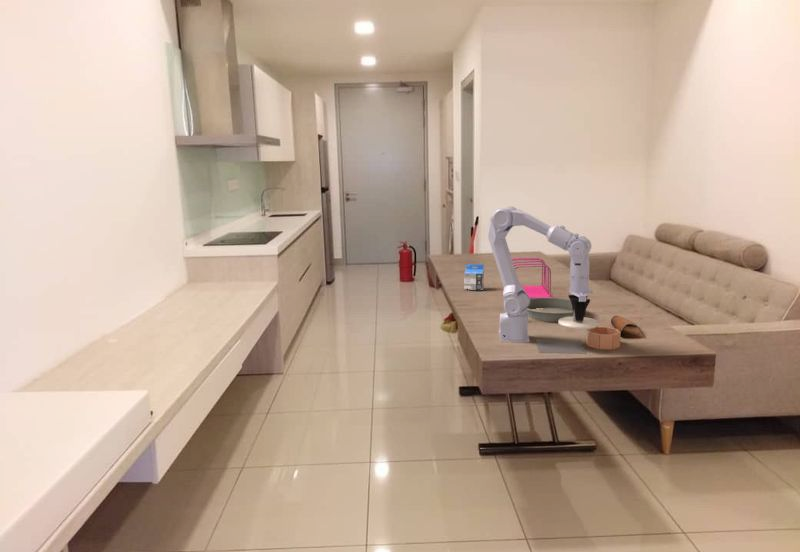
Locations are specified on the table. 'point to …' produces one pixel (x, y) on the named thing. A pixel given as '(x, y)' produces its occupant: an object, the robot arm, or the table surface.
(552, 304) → the cake pan
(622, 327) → the sunglasses case
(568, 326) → the lid
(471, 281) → the label tape box
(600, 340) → the bowl
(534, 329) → the table surface
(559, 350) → the mat
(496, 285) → the table surface
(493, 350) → the table surface
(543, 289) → the file sorter
